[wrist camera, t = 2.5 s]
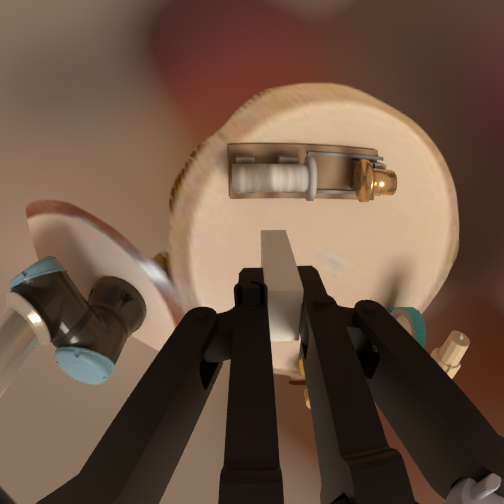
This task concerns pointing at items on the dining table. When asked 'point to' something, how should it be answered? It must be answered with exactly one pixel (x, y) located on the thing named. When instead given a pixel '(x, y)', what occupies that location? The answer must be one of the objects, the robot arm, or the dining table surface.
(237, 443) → the robot arm
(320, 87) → the dining table surface
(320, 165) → the pipe jig
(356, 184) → the coupling
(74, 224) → the dining table surface
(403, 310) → the butterfly valve
